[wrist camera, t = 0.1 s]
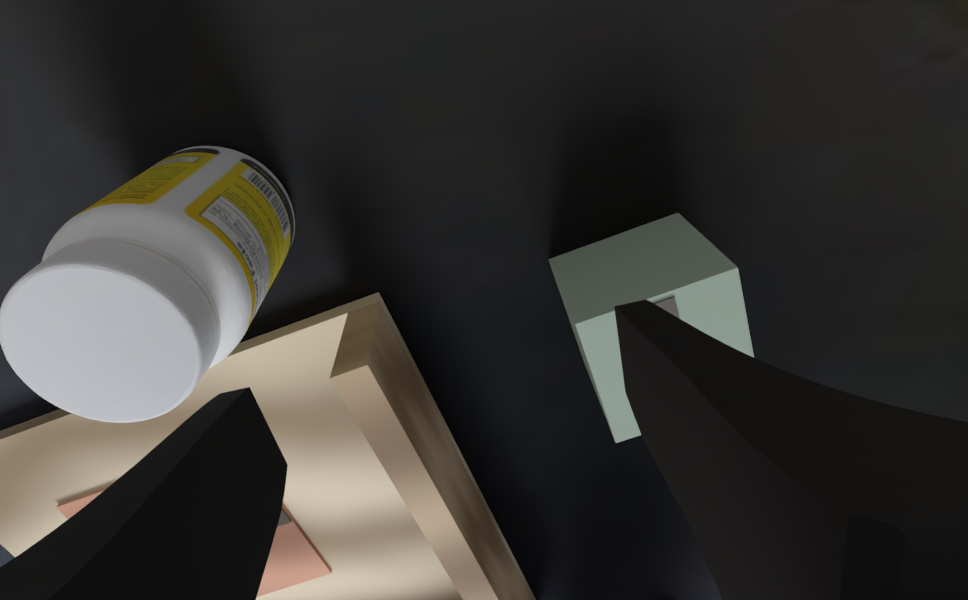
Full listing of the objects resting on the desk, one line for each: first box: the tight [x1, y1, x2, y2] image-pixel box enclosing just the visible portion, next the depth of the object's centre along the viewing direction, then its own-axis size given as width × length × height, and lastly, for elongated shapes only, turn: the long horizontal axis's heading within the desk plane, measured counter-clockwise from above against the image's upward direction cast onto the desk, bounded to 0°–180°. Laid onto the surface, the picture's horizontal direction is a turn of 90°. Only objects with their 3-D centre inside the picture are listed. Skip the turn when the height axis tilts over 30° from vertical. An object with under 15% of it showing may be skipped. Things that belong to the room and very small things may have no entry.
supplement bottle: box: [0, 146, 295, 423], centre depth 16 cm, size 5×5×8 cm
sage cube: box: [548, 213, 754, 443], centre depth 20 cm, size 5×5×5 cm
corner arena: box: [0, 292, 536, 600], centre depth 25 cm, size 19×19×5 cm
